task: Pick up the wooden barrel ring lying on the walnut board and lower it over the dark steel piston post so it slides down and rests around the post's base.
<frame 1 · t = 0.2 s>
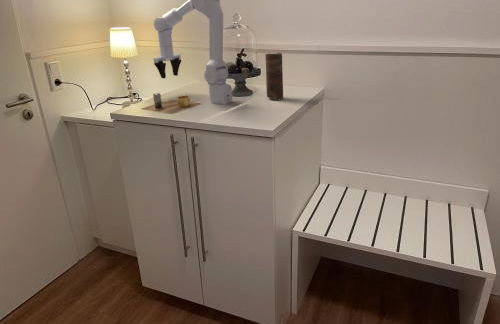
hand: (169, 76, 172), 10 cm above the cabinet, fingers open, 7 cm apart
walnut board: (171, 108, 158), on the cabinet
wooden barrel ring: (184, 105, 158), point 1 cm above the cabinet, touching walnut board
steel piston: (158, 109, 157), resting on walnut board
candle: (274, 99, 168), on the cabinet
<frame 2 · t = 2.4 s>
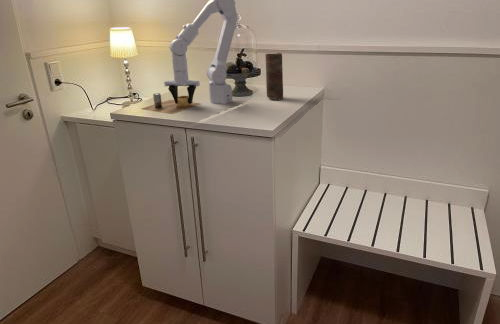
hand: (183, 103, 158), 2 cm above the cabinet, fingers closed on wooden barrel ring, 5 cm apart
wooden barrel ring: (184, 105, 158), point 1 cm above the cabinet, touching gripper, walnut board
everything else where it was.
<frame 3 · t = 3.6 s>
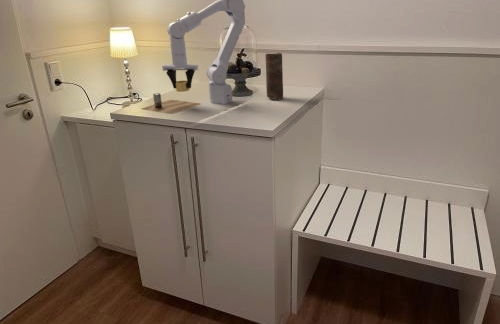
hand: (182, 88, 155), 8 cm above the cabinet, fingers closed on wooden barrel ring, 5 cm apart
wooden barrel ring: (182, 90, 156), point 7 cm above the cabinet, touching gripper
everything else where it was.
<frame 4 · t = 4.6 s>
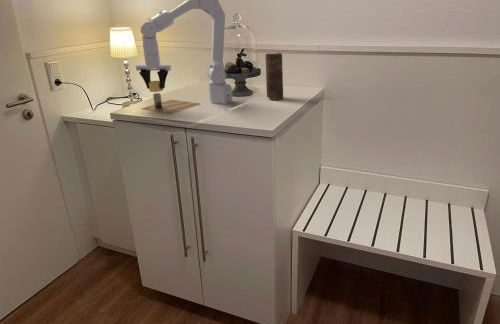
hand: (156, 88, 154), 9 cm above the cabinet, fingers closed on wooden barrel ring, 5 cm apart
wooden barrel ring: (156, 90, 154), point 8 cm above the cabinet, touching gripper
everything else where it was.
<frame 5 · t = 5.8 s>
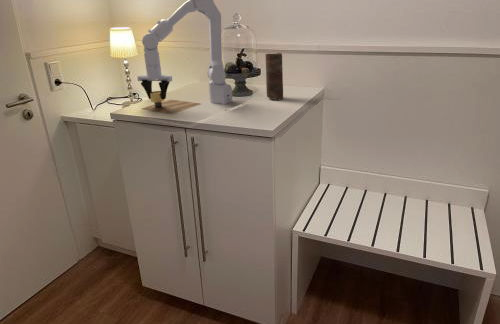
hand: (157, 98, 155), 5 cm above the cabinet, fingers closed on wooden barrel ring, 5 cm apart
wooden barrel ring: (157, 100, 156), point 4 cm above the cabinet, touching gripper
everything else where it was.
when the fingers open (4 cm above the cabinet, at t = 7.0 s): wooden barrel ring drops 2 cm, resting on walnut board.
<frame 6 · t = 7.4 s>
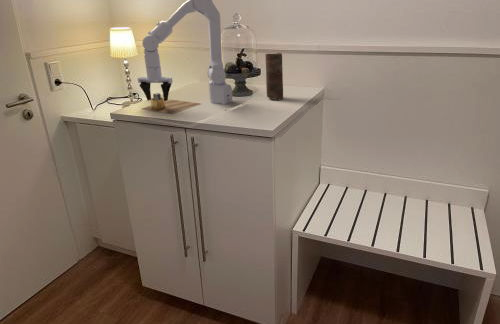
hand: (157, 100, 156), 4 cm above the cabinet, fingers open, 7 cm apart
wooden barrel ring: (158, 107, 157), point 1 cm above the cabinet, touching walnut board
everything else where it was.
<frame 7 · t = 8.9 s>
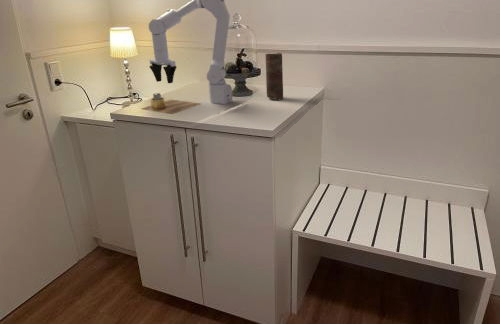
hand: (164, 82, 163), 9 cm above the cabinet, fingers open, 7 cm apart
nothing on the cabinet moved.
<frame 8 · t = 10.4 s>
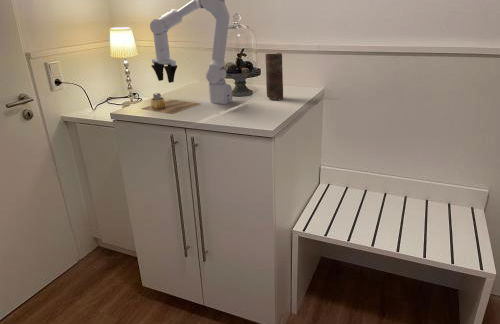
hand: (166, 81, 165), 9 cm above the cabinet, fingers open, 7 cm apart
nothing on the cabinet moved.
at the end: wooden barrel ring 0.0 cm off-centre on the steel piston, point 1.0 cm above the steel piston's base; wooden barrel ring tilted 0°; the gripper is holding nothing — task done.
